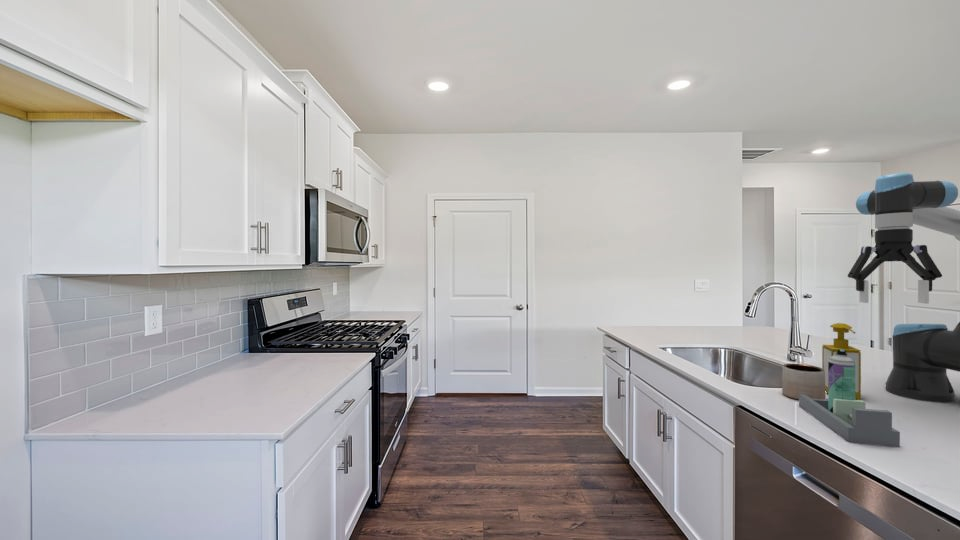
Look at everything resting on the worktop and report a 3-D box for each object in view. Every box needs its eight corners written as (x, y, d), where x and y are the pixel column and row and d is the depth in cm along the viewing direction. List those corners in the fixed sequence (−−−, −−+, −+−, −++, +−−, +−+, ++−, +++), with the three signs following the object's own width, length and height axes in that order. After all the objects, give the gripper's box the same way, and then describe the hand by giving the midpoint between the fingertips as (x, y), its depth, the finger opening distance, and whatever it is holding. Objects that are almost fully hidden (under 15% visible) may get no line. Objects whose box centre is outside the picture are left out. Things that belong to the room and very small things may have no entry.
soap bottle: (839, 403, 123) (839, 327, 122) (822, 390, 134) (822, 321, 134) (869, 405, 120) (870, 328, 119) (849, 392, 132) (849, 322, 131)
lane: (838, 408, 118) (838, 381, 118) (899, 446, 94) (899, 413, 94) (799, 405, 121) (799, 379, 121) (848, 441, 97) (848, 409, 97)
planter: (815, 393, 132) (815, 364, 132) (832, 404, 122) (832, 373, 122) (776, 390, 136) (776, 362, 135) (790, 400, 125) (790, 370, 125)
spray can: (844, 418, 111) (844, 347, 110) (861, 427, 105) (861, 352, 105) (823, 418, 111) (823, 347, 111) (839, 426, 106) (839, 352, 105)
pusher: (862, 426, 105) (862, 400, 105) (875, 435, 100) (875, 407, 100) (833, 424, 107) (833, 398, 106) (844, 432, 102) (844, 405, 101)
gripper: (938, 228, 114) (938, 301, 114) (833, 231, 121) (833, 300, 121) (961, 226, 106) (961, 304, 107) (847, 229, 114) (847, 303, 114)
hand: (893, 302), depth 114 cm, fingers open, 13 cm apart
